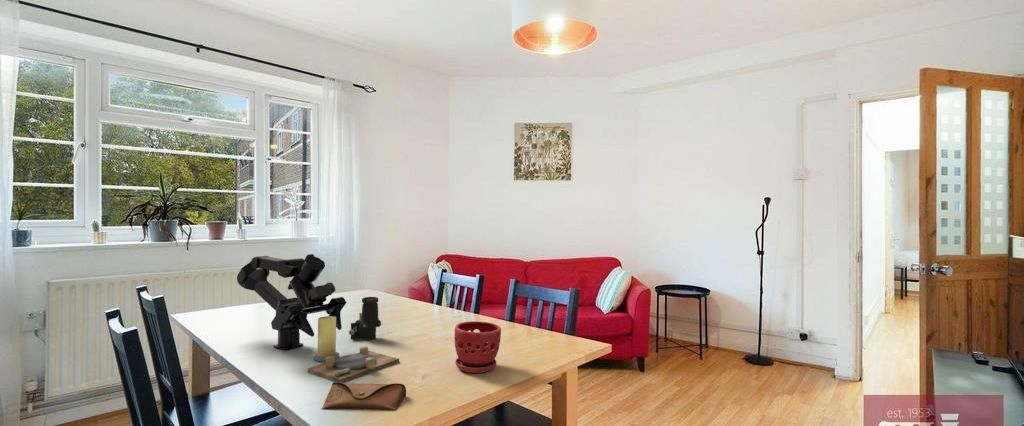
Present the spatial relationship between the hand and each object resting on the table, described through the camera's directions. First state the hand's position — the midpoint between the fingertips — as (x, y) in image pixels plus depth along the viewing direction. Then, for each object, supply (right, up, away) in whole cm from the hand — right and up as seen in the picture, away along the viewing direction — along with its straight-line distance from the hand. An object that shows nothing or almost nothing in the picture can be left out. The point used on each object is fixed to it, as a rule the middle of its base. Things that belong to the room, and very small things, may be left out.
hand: (327, 332), depth 138 cm
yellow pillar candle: (0, -8, 0) cm, 8 cm away
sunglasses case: (+21, -9, -31) cm, 38 cm away
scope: (+5, -8, +22) cm, 24 cm away
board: (+11, -8, -7) cm, 15 cm away
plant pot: (+45, -9, -7) cm, 47 cm away
